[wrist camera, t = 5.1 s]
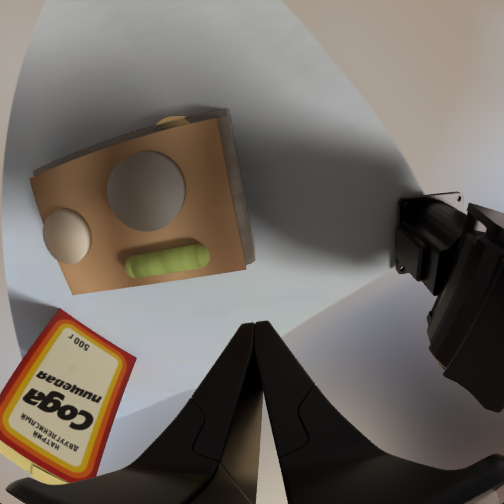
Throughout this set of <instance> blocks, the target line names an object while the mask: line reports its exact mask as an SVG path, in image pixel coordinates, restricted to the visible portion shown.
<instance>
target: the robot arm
mask: <svg viewBox="0 0 504 504" xmlns="http://www.w3.org/2000/svg"><path fill="white" fill-rule="evenodd" d="M458 196H459V198H458V200H457V197H458ZM404 202H406V205H405V206H404V207H403V203H404ZM467 211H468V213H467V215H466V214H464V213H463V195H462V194H461V193H460V192H449V193H439V194H430V195H420V196H412V197H403V198H401V199H400V200H399V201H398V225H397V226H396V230H395V256H396V270H397V272H398V273H399V274H405V273H410V274H411V275H412V276H413V277H414V278H415V279H416V280H417V281H422V282H423V283H424V285H425V286H426V287H427V288H428V289H429V290H430V292H431V293H432V294H433V295H434V296H437V295H438V297H437V299H436V301H435V304H434V306H433V308H432V311H430V312H429V314H428V316H427V322H428V329H427V333H428V337H429V341H430V345H429V350H430V352H431V353H432V355H433V356H434V358H435V359H436V360H437V361H438V363H439V364H440V365H441V366H442V368H443V369H445V371H444V373H443V375H444V376H445V377H446V378H448V379H450V380H453V381H455V382H457V383H458V384H460V385H461V386H463V387H464V388H465V389H467V390H468V391H469V392H470V393H471V394H472V395H473V396H474V397H475V398H476V399H477V400H478V401H479V402H480V404H481V405H482V406H483V407H484V408H485V409H488V410H491V411H494V412H501V411H502V410H503V409H504V213H501V212H498V211H494V210H492V209H488V208H485V207H482V206H479V205H476V204H472V203H469V204H468V208H467ZM402 266H403V268H402V269H400V268H401V267H402ZM263 392H264V396H265V401H266V406H267V410H268V415H269V419H270V424H271V428H272V433H273V437H274V442H275V446H276V450H277V455H278V459H279V463H280V468H281V472H282V477H283V482H284V486H285V491H286V496H287V500H288V504H500V501H499V499H498V496H497V493H496V490H497V489H498V488H500V487H501V486H502V485H504V456H503V455H500V454H492V455H490V456H488V457H486V458H484V459H482V460H480V461H478V462H477V463H475V464H473V465H471V466H469V467H466V468H463V469H458V470H444V469H438V468H434V467H430V466H427V465H423V464H419V463H416V462H413V461H410V460H406V459H403V458H400V457H397V456H394V455H391V454H389V453H386V452H384V451H383V450H381V449H379V448H378V447H377V446H375V445H374V444H373V443H372V442H371V441H370V440H368V439H367V438H366V437H365V436H364V435H363V434H362V433H361V432H360V431H358V430H357V429H356V428H355V427H354V426H353V425H352V424H351V423H350V422H349V421H348V420H346V418H344V417H343V416H342V415H341V414H340V413H339V412H338V411H337V410H336V409H335V407H334V406H333V405H332V404H331V403H330V402H329V401H328V400H327V398H326V397H325V396H324V395H323V394H322V392H321V391H320V390H319V388H318V387H317V386H316V385H315V383H314V382H313V380H312V379H311V378H310V376H309V375H308V374H307V372H306V371H305V370H304V368H303V367H302V366H301V364H300V363H299V362H298V360H297V359H296V358H295V356H294V355H293V354H292V352H291V351H290V350H289V348H288V347H287V345H286V344H285V343H284V341H283V340H282V339H281V337H280V336H279V334H278V333H277V332H276V330H275V329H274V328H273V326H272V325H271V323H270V322H269V321H259V322H256V323H253V322H252V323H244V324H242V325H241V326H240V327H239V329H238V330H237V331H236V333H235V334H234V336H233V337H232V339H231V340H230V342H229V343H228V345H227V346H226V348H225V349H224V351H223V352H222V353H221V355H220V356H219V358H218V359H217V361H216V362H215V364H214V365H213V367H212V368H211V369H210V371H209V372H208V374H207V375H206V377H205V378H204V379H203V381H202V382H201V384H200V385H199V387H198V388H197V389H196V391H195V392H194V394H193V395H192V398H190V399H189V401H188V402H187V403H186V405H185V406H184V408H183V409H182V410H181V411H180V413H179V414H178V415H177V417H176V418H175V419H174V420H173V421H172V423H171V424H170V425H169V426H168V427H167V428H166V429H165V430H164V431H163V433H162V434H161V435H160V436H159V437H158V438H157V439H156V440H155V441H154V442H153V443H152V444H151V445H150V446H149V447H148V448H147V449H146V450H145V451H144V452H143V453H142V454H141V456H139V457H138V458H137V459H136V460H135V461H134V462H132V463H131V464H130V465H128V466H127V467H125V468H123V469H121V470H117V471H114V472H111V473H107V474H104V475H100V476H96V477H93V478H89V479H85V480H80V481H76V482H72V483H67V484H61V485H50V484H45V483H41V482H39V481H37V480H34V479H32V478H28V477H27V478H24V479H20V480H17V481H14V482H13V483H11V484H10V485H8V486H7V488H6V491H7V492H8V493H10V494H11V495H13V496H14V497H16V498H17V499H19V500H20V501H22V502H23V503H25V504H256V493H257V479H258V466H259V452H260V436H261V420H262V404H263ZM0 504H1V503H0ZM503 504H504V503H503Z"/></svg>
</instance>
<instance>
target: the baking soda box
mask: <svg viewBox="0 0 504 504" xmlns="http://www.w3.org/2000/svg"><path fill="white" fill-rule="evenodd" d="M136 359H137V358H136V357H134V356H132V355H131V354H129V353H127V352H126V351H124V350H122V349H121V348H119V347H117V346H116V345H114V344H112V343H111V342H109V341H108V340H106V339H104V338H103V337H101V336H100V335H98V334H97V333H95V332H94V331H92V330H91V329H89V328H88V327H86V326H85V325H83V324H82V323H80V322H79V321H77V320H76V319H74V318H73V317H72V316H70V315H69V314H67V313H66V312H65V311H63V310H62V309H61V308H60V309H59V310H58V312H57V313H56V314H55V315H54V317H53V318H52V319H51V321H50V322H49V323H48V325H47V326H46V327H45V329H44V330H43V331H42V333H41V334H40V335H39V337H38V338H37V339H36V341H35V342H34V344H33V345H32V346H31V348H30V349H29V351H28V352H27V354H26V355H25V357H24V358H23V359H22V361H21V362H20V364H19V365H18V367H17V368H16V370H15V371H14V373H13V374H12V376H11V378H10V379H9V381H8V382H7V384H6V386H5V387H4V389H3V390H2V392H1V394H0V453H1V454H3V455H4V456H5V457H6V458H8V459H9V460H11V461H12V462H14V463H15V464H17V465H18V466H19V467H21V468H22V469H24V470H26V471H27V472H29V473H30V474H32V477H33V478H35V479H37V480H39V481H41V482H43V483H45V484H50V485H61V484H67V483H72V482H76V481H80V480H85V479H89V478H93V477H96V475H97V472H98V468H99V465H100V462H101V458H102V455H103V452H104V449H105V445H106V443H107V439H108V436H109V433H110V430H111V427H112V424H113V421H114V419H115V416H116V413H117V410H118V407H119V404H120V402H121V399H122V396H123V393H124V391H125V388H126V385H127V382H128V380H129V377H130V374H131V372H132V369H133V367H134V364H135V361H136Z"/></svg>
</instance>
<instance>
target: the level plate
mask: <svg viewBox="0 0 504 504" xmlns="http://www.w3.org/2000/svg"><path fill="white" fill-rule="evenodd" d="M30 182H31V186H32V190H33V193H34V196H35V200H36V203H37V206H38V209H39V212H40V215H41V218H42V221H43V224H44V226H43V238H44V242H45V245H46V247H47V249H48V251H49V252H50V253H51V255H52V256H53V257H54V258H56V259H57V261H58V263H59V266H60V268H61V270H62V272H63V275H64V277H65V279H66V281H67V284H68V286H69V288H70V290H71V292H72V294H73V295H76V294H84V293H91V292H98V291H106V290H113V289H120V288H127V287H134V286H141V285H148V284H155V283H161V282H168V281H175V280H182V279H188V278H195V277H201V276H208V275H214V274H221V273H227V272H233V271H240V270H246V265H248V264H251V263H253V262H254V261H255V255H254V249H253V244H252V239H251V233H250V228H249V223H248V217H247V212H246V207H245V201H244V196H243V191H242V185H241V180H240V175H239V169H238V164H237V159H236V154H235V148H234V143H233V138H232V132H231V127H230V122H229V117H228V116H226V117H220V118H214V119H209V120H205V121H200V122H196V123H191V124H187V125H183V126H179V127H175V128H171V129H167V130H163V131H160V132H156V133H152V134H149V135H145V136H142V137H139V138H135V139H132V140H129V141H126V142H122V143H119V144H116V145H113V146H110V147H107V148H104V149H101V150H99V151H96V152H93V153H90V154H88V155H85V156H82V157H80V158H77V159H74V160H72V161H69V162H67V163H64V164H62V165H59V166H57V167H55V168H52V169H50V170H48V171H45V172H43V173H41V174H39V175H36V176H34V177H32V178H30Z"/></svg>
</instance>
